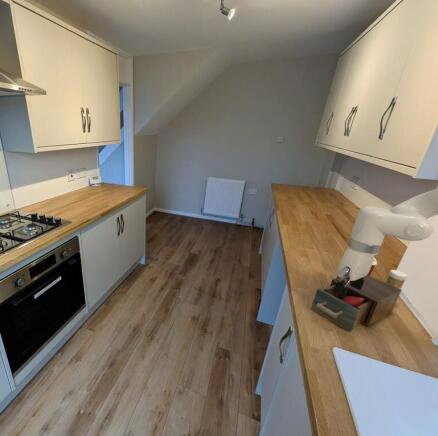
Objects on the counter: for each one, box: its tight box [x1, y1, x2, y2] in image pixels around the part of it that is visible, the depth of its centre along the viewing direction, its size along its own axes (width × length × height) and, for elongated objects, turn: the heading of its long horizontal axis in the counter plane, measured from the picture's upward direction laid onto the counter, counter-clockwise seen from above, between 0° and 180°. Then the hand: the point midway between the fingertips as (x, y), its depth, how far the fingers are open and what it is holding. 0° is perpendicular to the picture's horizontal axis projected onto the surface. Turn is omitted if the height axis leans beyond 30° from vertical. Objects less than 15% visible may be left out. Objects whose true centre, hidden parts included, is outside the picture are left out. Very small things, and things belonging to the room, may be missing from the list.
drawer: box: [310, 284, 374, 333], centre depth 82 cm, size 19×13×8 cm, turn 115°
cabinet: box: [329, 275, 402, 328], centre depth 87 cm, size 16×14×10 cm
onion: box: [341, 296, 364, 308], centre depth 82 cm, size 6×6×8 cm
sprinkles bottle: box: [385, 269, 408, 290], centre depth 90 cm, size 5×5×14 cm
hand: (347, 290), depth 80 cm, fingers open, 9 cm apart
